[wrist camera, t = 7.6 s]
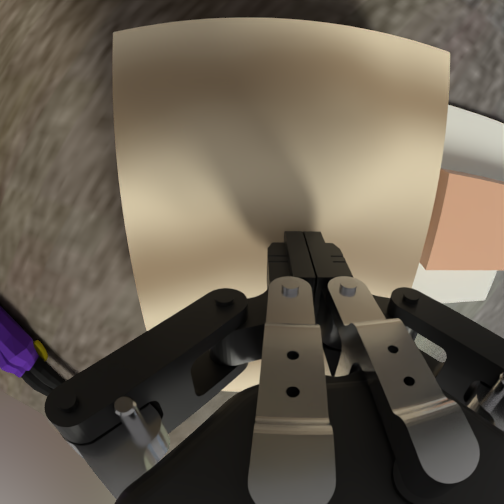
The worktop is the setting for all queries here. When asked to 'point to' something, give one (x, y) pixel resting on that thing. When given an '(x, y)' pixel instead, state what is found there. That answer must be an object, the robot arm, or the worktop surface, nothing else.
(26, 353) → the toy
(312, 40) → the block
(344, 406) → the robot arm
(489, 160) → the mat
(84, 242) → the worktop surface
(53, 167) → the worktop surface
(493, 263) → the tile
